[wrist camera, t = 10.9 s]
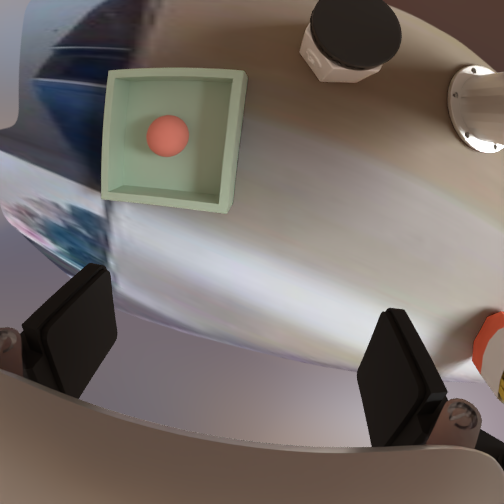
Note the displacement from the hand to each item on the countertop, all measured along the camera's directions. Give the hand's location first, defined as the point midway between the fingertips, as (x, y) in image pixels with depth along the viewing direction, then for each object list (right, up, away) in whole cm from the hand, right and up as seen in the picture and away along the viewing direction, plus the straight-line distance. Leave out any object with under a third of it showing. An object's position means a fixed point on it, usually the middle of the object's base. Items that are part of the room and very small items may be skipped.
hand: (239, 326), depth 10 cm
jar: (+10, +26, +21) cm, 35 cm away
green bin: (-9, +17, +27) cm, 33 cm away
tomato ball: (-9, +16, +24) cm, 30 cm away
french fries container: (+44, -12, +34) cm, 57 cm away
